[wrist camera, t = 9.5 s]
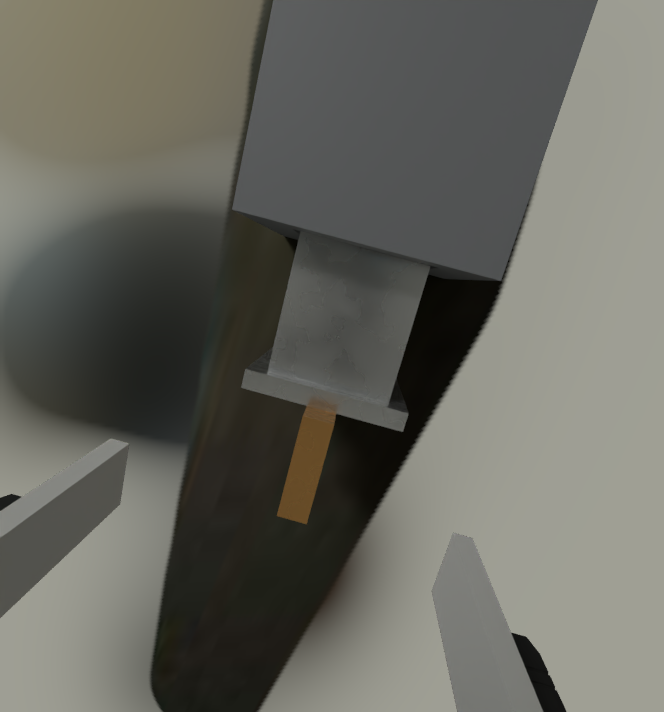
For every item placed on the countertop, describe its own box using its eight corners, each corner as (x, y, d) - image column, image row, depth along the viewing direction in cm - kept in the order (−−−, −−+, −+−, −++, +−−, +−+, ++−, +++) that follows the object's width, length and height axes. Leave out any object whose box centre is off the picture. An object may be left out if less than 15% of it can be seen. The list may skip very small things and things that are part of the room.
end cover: (310, 195, 30) (284, 154, 20) (441, 230, 30) (482, 206, 20) (254, 431, 34) (209, 497, 24) (370, 463, 33) (374, 543, 23)
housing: (325, 54, 31) (297, -120, 18) (501, 99, 31) (611, -41, 17) (284, 236, 34) (232, 209, 20) (444, 279, 34) (501, 280, 20)
